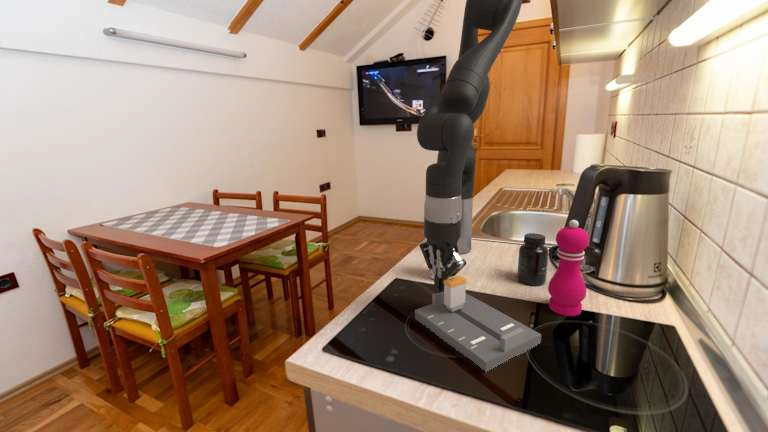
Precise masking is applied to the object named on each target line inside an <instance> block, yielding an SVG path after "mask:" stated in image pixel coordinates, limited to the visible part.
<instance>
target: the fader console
mask: <svg viewBox="0 0 768 432" xmlns="http://www.w3.org/2000/svg"><path fill="white" fill-rule="evenodd" d="M431 299H432V301H431V302H432V303H430V304H428V305H425V306H422V307H420V308H417V309H414V319H415V320H416V321H418V322H419V324H421V323H422V324H421V325H422V326H424V325H425V326H426V327H425V326H424V327H425V328H427V329H428V328H429V329H430V330H429V329H428V330H429V331H430V332H431V333H433V332H434V333H435V334H434V333H433V334H434V335H436V336H437V337H438V336H439V337H438V338H440V339H441V340H442V339H443V340H442V341H444V342H445V343H446V342H447V343H446V344H448V345H449V346H450V345H451V346H452V347H451V346H450V347H451V348H453V347H454V348H455V349H456V350H455V349H454V348H453V349H454V350H455V351H456V352H458V351H459V352H460V354H461V353H462V354H463V355H464V356H463V355H462V354H461V355H462V356H463V357H465V356H466V357H467V358H469V359H470V360H472V361H473V362H474V363H475V364H476V365H478V366H479V367H480V368H481V369H480V368H479V367H478V366H477V367H478V368H479V369H480V370H482V369H483V370H484V371H485V372H486V373H488V372H490V371H492V370H494V369H496V368H497V366H498V365H500V364H502V363H503V364H505V363H507V362H509V361H510V360H509V359H511V358H513V357H515V356H517V357H519V356H521V355H522V354H525V353H526V352H528V351H530V350H532V349H534V348H536V347H537V345H538V344H540V343H541V341H542V334H541V333H540V332H538V331H536V330H535V329H532V328H531V327H529V326H527V325H525V324H523V323H522V322H520V321H518V320H516V319H514V318H512V317H510V316H509V315H507V314H505V313H503V312H501V311H499V310H498V309H496V308H494V307H492V306H490V305H488V303H485V302H483V301H481V300H479V299H477V297H474V296H472V295H470V294H469V293H467V292H465V303H463V308H461V309H459V310H456V311H454V312H452V311H450V310H449V309H447V308H446V305H445V304H444V291H443V292H440V293H439V292H438V291H437V292H434V293H432V295H431ZM540 345H541V344H540ZM535 346H536V347H535ZM538 346H539V345H538ZM533 347H534V348H533ZM531 348H532V349H531ZM529 349H530V350H529ZM527 350H528V351H527ZM459 352H458V353H459ZM520 354H521V355H520ZM518 355H519V356H518ZM466 357H465V358H466ZM467 358H466V359H467ZM515 358H516V357H515ZM513 359H514V358H513ZM470 360H469V361H470ZM508 360H509V361H508ZM511 360H512V359H511ZM506 361H507V362H506ZM504 362H505V363H504ZM474 363H473V364H474ZM475 364H474V365H475ZM503 364H502V365H503ZM476 365H475V366H476ZM500 366H501V365H500ZM495 367H496V368H495ZM498 367H499V366H498ZM493 368H494V369H493ZM491 369H492V370H491ZM483 370H482V371H483ZM489 370H490V371H489ZM484 371H483V372H484ZM487 371H488V372H487ZM485 372H484V373H485Z"/></svg>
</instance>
